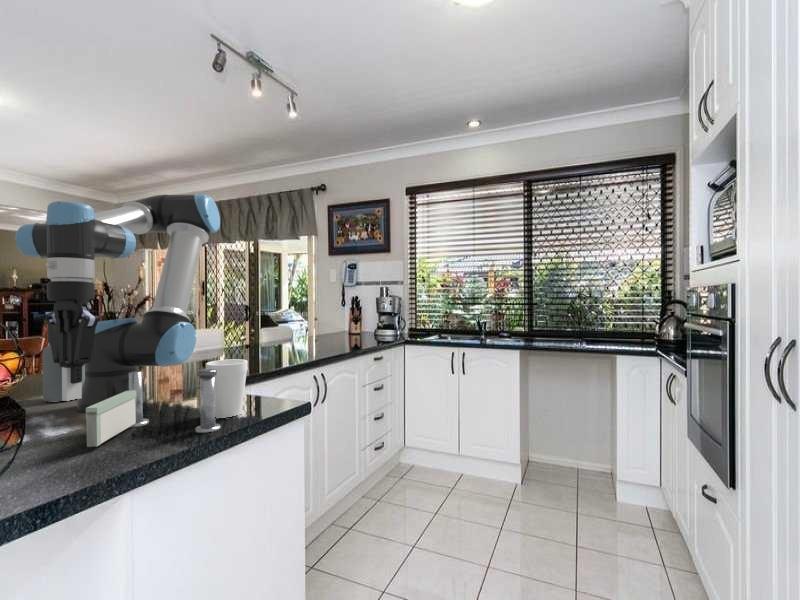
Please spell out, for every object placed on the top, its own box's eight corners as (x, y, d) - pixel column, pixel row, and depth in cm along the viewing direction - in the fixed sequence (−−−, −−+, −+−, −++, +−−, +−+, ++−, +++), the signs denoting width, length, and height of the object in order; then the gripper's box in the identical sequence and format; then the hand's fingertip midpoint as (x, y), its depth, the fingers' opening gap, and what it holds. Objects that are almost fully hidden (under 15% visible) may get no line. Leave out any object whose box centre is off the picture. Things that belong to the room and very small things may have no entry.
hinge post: (117, 427, 94) (116, 373, 94) (136, 420, 99) (135, 369, 99) (136, 428, 93) (135, 374, 93) (154, 421, 98) (153, 370, 98)
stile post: (190, 432, 90) (189, 372, 90) (205, 425, 95) (205, 368, 95) (210, 434, 89) (209, 372, 89) (225, 426, 94) (224, 368, 94)
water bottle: (84, 400, 120) (83, 302, 119) (40, 405, 114) (38, 302, 114) (87, 393, 128) (86, 301, 128) (46, 397, 123) (44, 302, 123)
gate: (127, 423, 94) (126, 390, 94) (136, 423, 95) (136, 390, 94) (86, 446, 80) (85, 408, 80) (97, 446, 80) (97, 407, 80)
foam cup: (233, 421, 98) (232, 365, 98) (198, 419, 100) (197, 364, 99) (255, 410, 107) (254, 359, 107) (222, 408, 109) (222, 358, 109)
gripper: (29, 281, 83) (29, 401, 82) (72, 279, 78) (72, 406, 78) (70, 282, 90) (71, 393, 89) (112, 280, 85) (113, 397, 85)
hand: (72, 399), depth 84 cm, fingers closed
